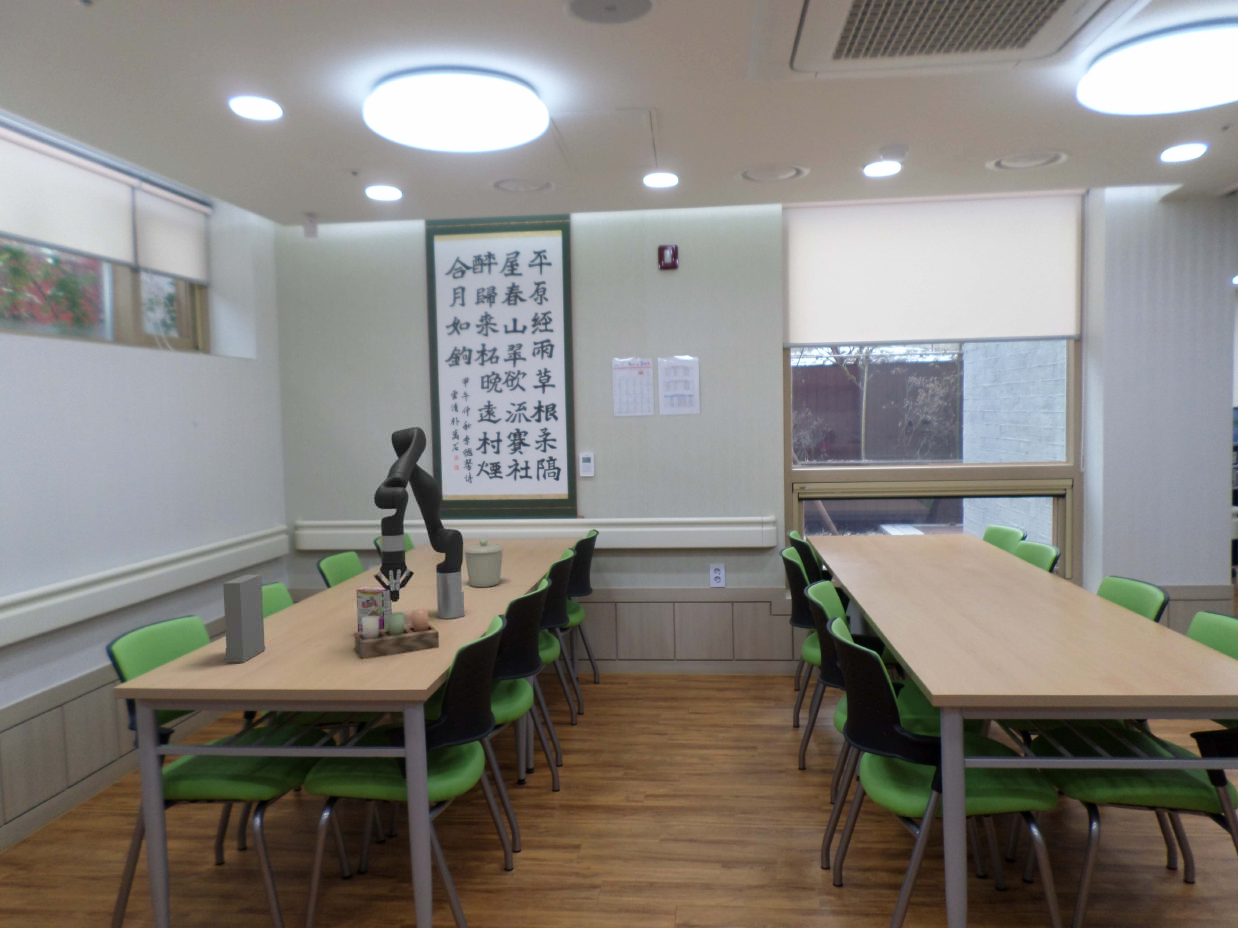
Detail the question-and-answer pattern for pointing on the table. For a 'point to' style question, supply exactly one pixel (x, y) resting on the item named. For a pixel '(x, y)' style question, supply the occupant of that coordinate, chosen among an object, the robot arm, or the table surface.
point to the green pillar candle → (395, 623)
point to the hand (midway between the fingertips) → (394, 601)
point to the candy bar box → (373, 605)
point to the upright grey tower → (243, 618)
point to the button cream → (370, 627)
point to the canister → (484, 564)
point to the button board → (396, 642)
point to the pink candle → (420, 620)
